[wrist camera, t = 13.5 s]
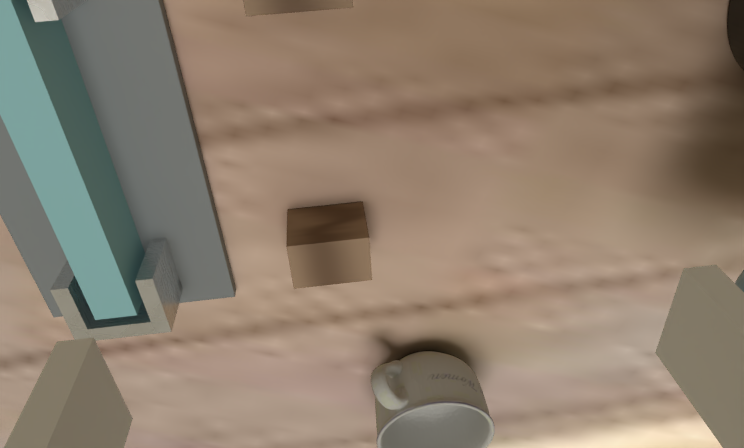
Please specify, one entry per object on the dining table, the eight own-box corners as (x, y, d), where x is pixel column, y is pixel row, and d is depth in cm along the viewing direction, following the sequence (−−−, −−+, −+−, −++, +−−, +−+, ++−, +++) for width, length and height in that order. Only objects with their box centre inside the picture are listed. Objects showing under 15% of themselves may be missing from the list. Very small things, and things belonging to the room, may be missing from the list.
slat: (33, -59, 31) (-8, -45, 27) (152, 272, 44) (137, 315, 40) (-22, -55, 31) (-72, -40, 27) (114, 276, 44) (95, 320, 40)
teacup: (487, 381, 58) (511, 448, 52) (396, 420, 60) (408, 489, 54) (434, 298, 51) (455, 365, 44) (333, 345, 53) (338, 416, 46)
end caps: (55, -102, 30) (17, -95, 26) (182, 288, 46) (171, 331, 42) (-79, -93, 30) (-140, -84, 25) (96, 298, 45) (76, 342, 41)
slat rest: (341, -83, 33) (347, -73, 29) (365, 241, 46) (372, 279, 42) (240, -75, 32) (231, -65, 28) (294, 249, 46) (293, 288, 42)
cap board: (127, -140, 30) (122, -140, 29) (235, 288, 48) (234, 296, 47) (-161, -122, 29) (-175, -121, 28) (57, 308, 47) (53, 317, 46)
